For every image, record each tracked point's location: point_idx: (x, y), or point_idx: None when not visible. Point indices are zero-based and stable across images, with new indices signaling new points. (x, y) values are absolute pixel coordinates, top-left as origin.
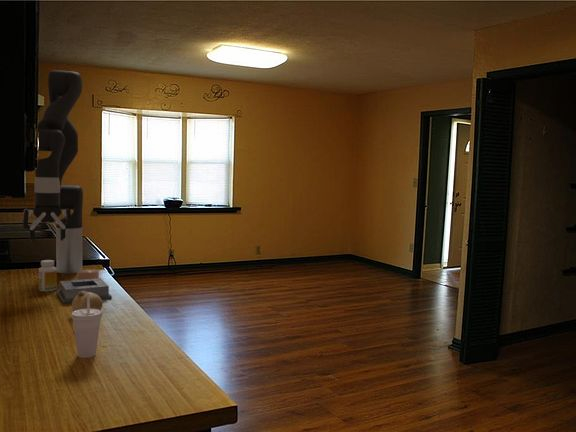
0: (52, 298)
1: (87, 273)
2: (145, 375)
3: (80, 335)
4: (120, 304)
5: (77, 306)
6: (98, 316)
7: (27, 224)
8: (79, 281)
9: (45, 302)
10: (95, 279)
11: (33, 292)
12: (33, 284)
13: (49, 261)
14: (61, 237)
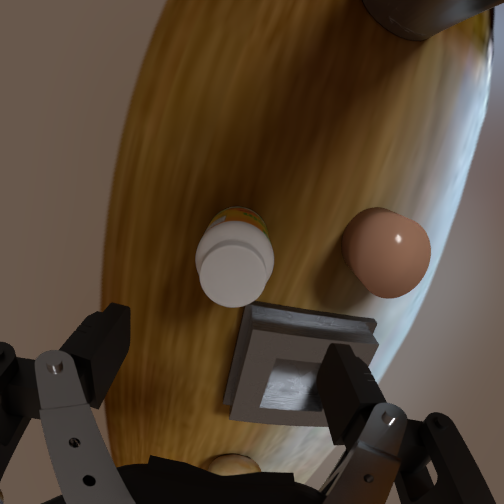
0: (214, 346)
1: (376, 295)
2: None
3: None
4: (317, 439)
5: None
6: None
7: (22, 427)
8: (306, 359)
9: (188, 370)
10: (358, 354)
11: (185, 246)
12: (223, 116)
13: (235, 300)
14: (321, 396)
